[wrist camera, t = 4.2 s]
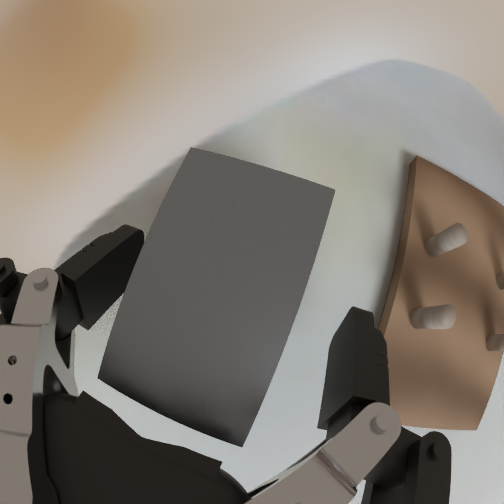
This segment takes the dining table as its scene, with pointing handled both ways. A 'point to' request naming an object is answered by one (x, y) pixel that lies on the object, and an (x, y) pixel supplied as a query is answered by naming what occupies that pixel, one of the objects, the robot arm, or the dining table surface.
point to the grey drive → (216, 293)
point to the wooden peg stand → (445, 302)
